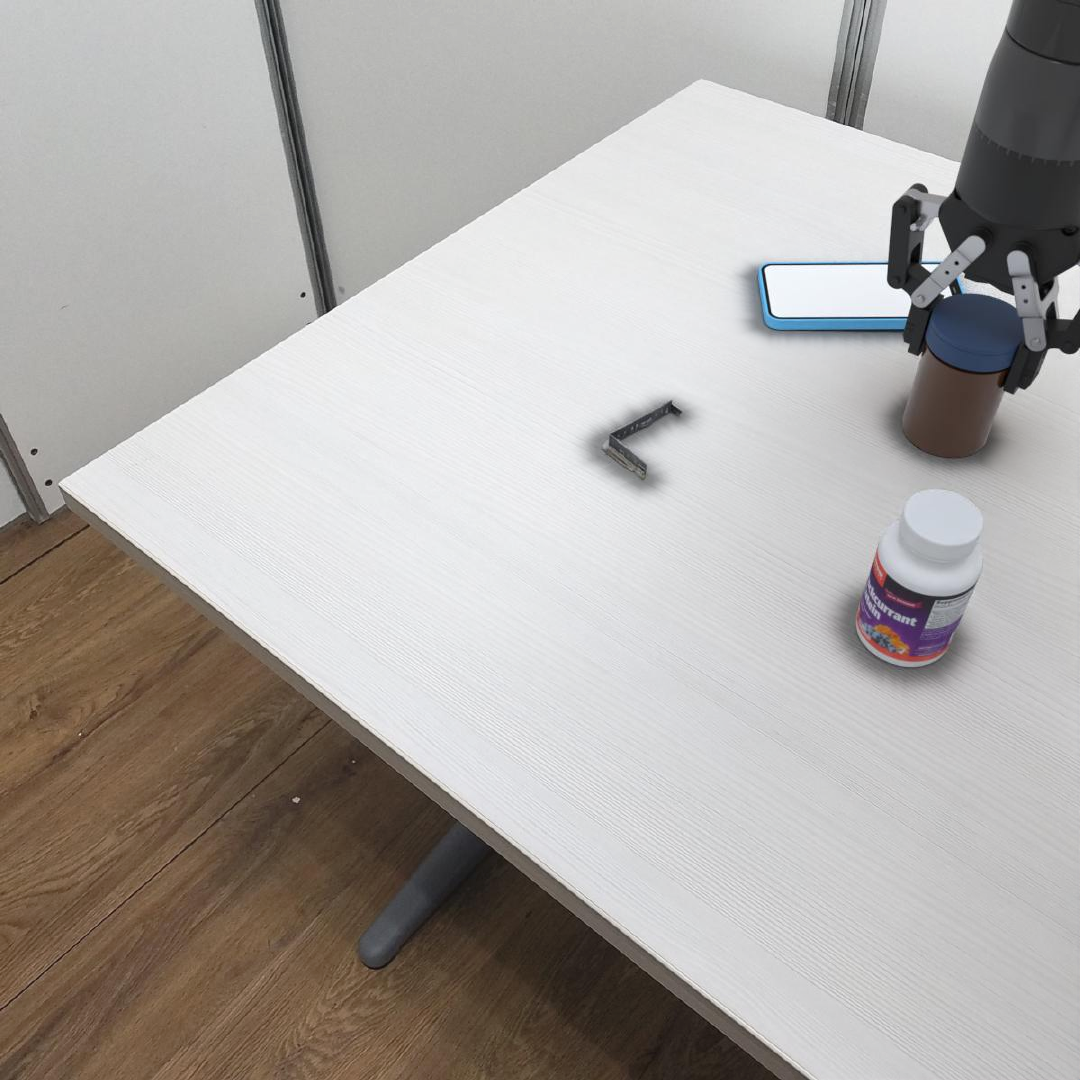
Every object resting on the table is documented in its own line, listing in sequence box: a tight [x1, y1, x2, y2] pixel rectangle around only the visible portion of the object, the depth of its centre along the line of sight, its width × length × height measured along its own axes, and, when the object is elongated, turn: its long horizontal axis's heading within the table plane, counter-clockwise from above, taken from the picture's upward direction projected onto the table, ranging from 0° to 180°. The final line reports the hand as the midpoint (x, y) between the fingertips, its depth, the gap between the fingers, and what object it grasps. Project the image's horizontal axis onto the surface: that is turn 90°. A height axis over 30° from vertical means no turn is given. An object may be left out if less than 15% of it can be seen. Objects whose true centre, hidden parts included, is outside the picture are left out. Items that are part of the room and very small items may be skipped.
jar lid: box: [926, 292, 1025, 372], centre depth 72 cm, size 6×6×2 cm
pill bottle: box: [855, 488, 984, 668], centre depth 62 cm, size 5×5×10 cm
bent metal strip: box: [601, 398, 683, 480], centre depth 77 cm, size 7×1×5 cm
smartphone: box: [757, 260, 966, 331], centre depth 87 cm, size 8×1×15 cm
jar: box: [901, 341, 1012, 459], centre depth 75 cm, size 6×6×8 cm
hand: (965, 366), depth 74 cm, fingers closed on jar lid, 6 cm apart
